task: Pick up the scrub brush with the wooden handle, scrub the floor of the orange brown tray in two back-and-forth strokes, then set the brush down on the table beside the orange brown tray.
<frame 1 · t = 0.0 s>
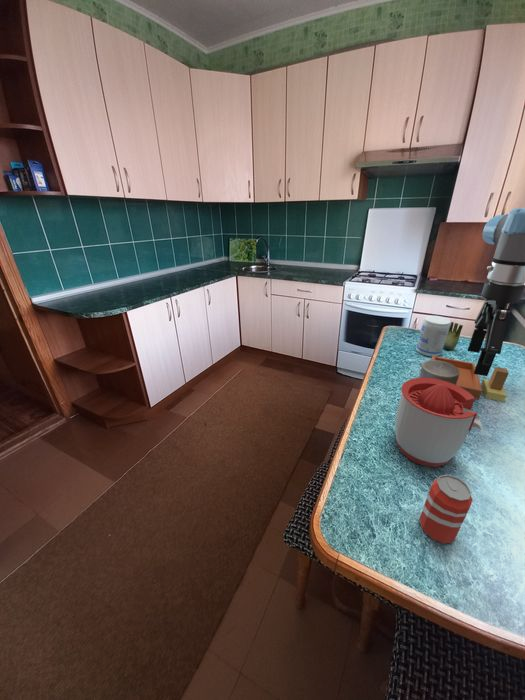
hand: (476, 362, 76), 19 cm above the table, tool pointing down, fingers open, 13 cm apart
orange brown tray: (452, 379, 103), on the table
supplement tub: (428, 352, 122), on the table
beverage can: (436, 529, 56), on the table
citrus juicer: (425, 451, 74), on the table
fennel bulb: (446, 348, 124), on the table
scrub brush: (492, 393, 95), on the table
pillar candle: (428, 406, 90), on the table
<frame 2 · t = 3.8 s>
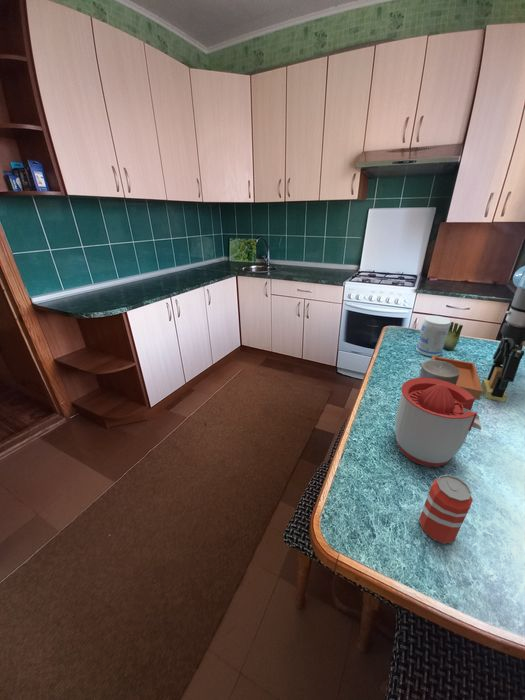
hand: (493, 388, 94), 2 cm above the table, tool pointing down, fingers closed on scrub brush, 8 cm apart
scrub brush: (492, 393, 95), on the table, touching gripper
everything else where it was.
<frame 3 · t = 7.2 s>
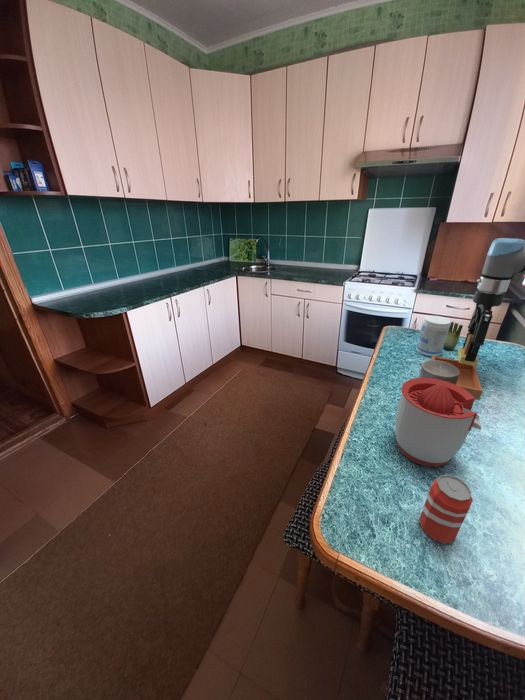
hand: (468, 355, 101), 9 cm above the table, tool pointing down, fingers closed on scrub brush, 8 cm apart
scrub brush: (466, 359, 102), point 7 cm above the table, touching gripper
everything else where it was.
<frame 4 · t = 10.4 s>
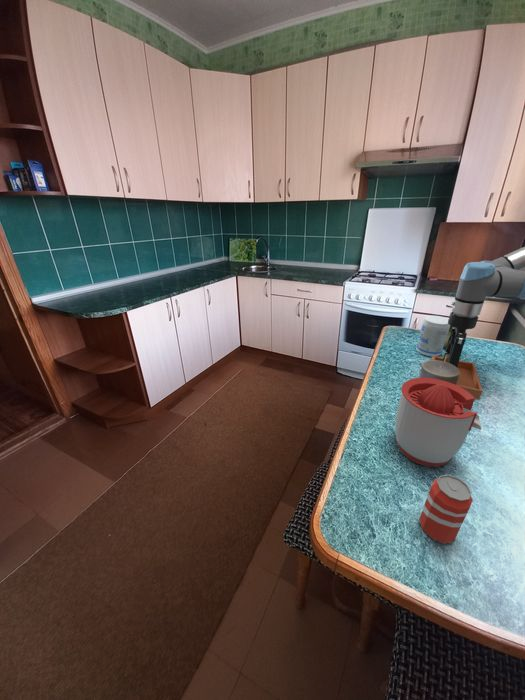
hand: (445, 375, 101), 2 cm above the table, tool pointing down, fingers closed on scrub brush, 8 cm apart
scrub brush: (444, 379, 102), point 1 cm above the table, touching gripper
everything else where it was.
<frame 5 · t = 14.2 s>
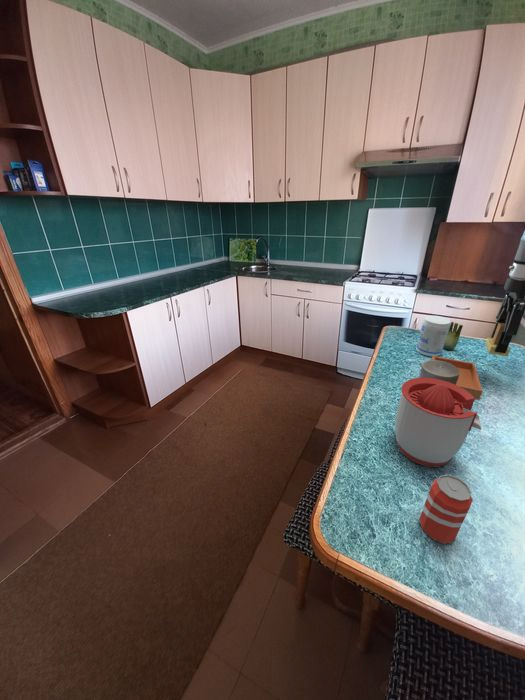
hand: (497, 346, 96), 13 cm above the table, tool pointing down, fingers closed on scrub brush, 8 cm apart
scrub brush: (495, 349, 97), point 12 cm above the table, touching gripper
everything else where it was.
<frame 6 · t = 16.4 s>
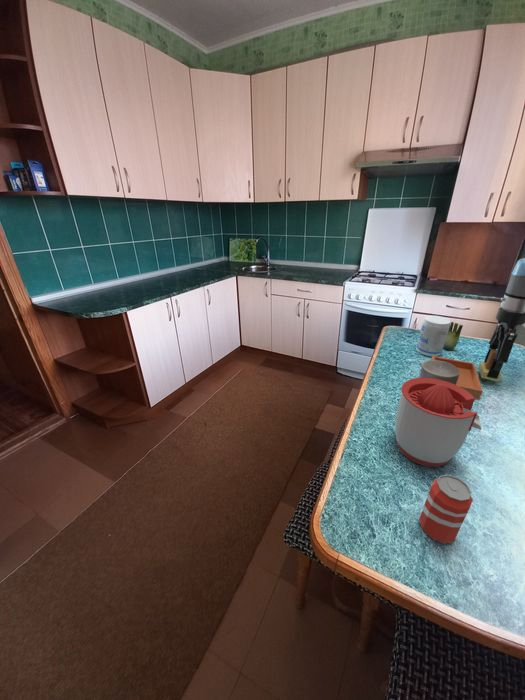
hand: (489, 371, 102), 3 cm above the table, tool pointing down, fingers closed on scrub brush, 8 cm apart
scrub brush: (488, 374, 102), point 2 cm above the table, touching gripper
everything else where it was.
when the fingers open (1 cm above the table, at t = 17.4 s): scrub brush stays where it is, on the table.
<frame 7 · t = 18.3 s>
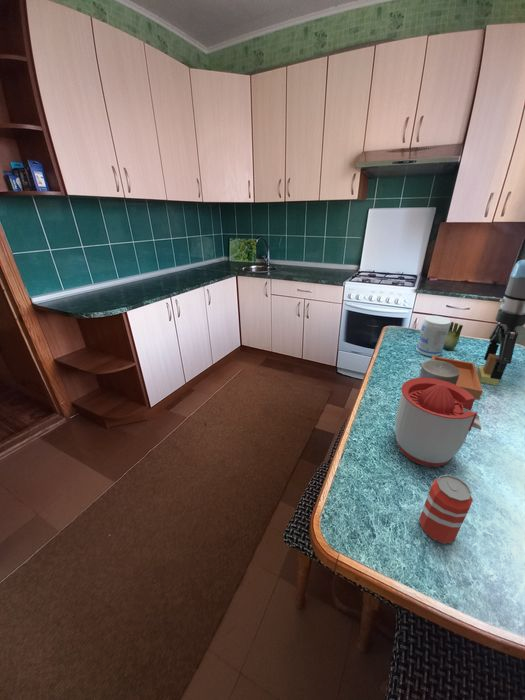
hand: (491, 368, 101), 4 cm above the table, tool pointing down, fingers open, 13 cm apart
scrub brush: (486, 378, 103), on the table
everything else where it was.
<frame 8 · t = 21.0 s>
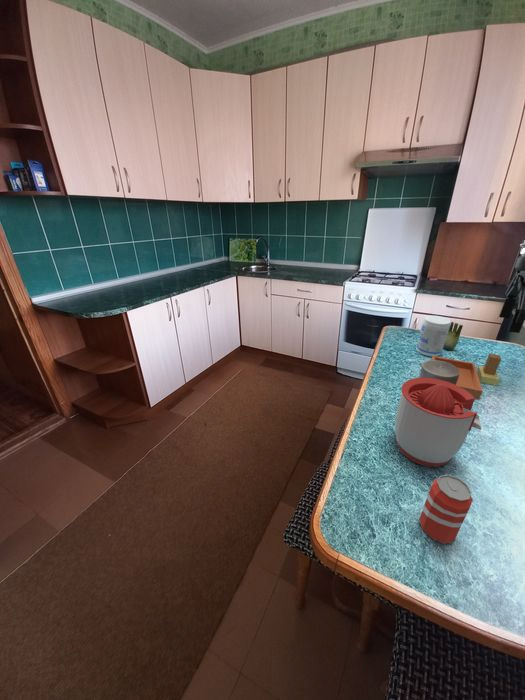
hand: (508, 324, 94), 21 cm above the table, tool pointing down, fingers open, 13 cm apart
nothing on the table moved.
at the end: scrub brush inside the target area (0.2 cm from its centre), on the table; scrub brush tilted 0°; the gripper is holding nothing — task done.
